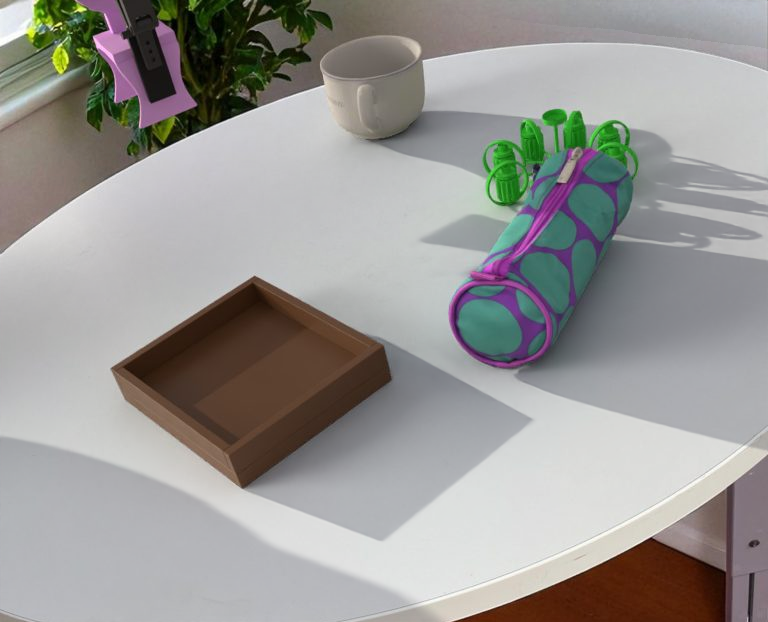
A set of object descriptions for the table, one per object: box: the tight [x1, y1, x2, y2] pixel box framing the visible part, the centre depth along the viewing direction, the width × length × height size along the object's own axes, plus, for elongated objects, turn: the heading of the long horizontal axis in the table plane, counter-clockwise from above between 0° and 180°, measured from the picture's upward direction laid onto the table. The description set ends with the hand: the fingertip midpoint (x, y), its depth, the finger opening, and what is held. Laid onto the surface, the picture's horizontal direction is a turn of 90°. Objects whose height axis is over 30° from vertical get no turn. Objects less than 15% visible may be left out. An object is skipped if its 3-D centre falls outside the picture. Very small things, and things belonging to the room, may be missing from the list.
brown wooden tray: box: [110, 275, 393, 490], centre depth 88 cm, size 18×16×4 cm
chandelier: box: [482, 108, 640, 207], centre depth 100 cm, size 15×15×7 cm
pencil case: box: [448, 147, 634, 370], centre depth 86 cm, size 21×9×10 cm, turn 154°
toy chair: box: [74, 0, 198, 130], centre depth 104 cm, size 8×9×15 cm
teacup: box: [319, 34, 426, 140], centre depth 113 cm, size 14×11×8 cm
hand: (149, 82), depth 107 cm, fingers closed on toy chair, 8 cm apart
